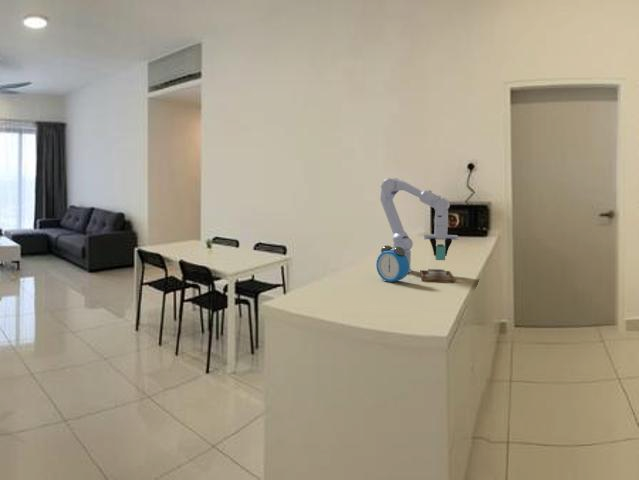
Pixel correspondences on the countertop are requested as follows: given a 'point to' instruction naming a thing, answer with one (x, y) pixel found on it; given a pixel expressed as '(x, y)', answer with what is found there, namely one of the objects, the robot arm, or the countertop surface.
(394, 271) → the alarm clock
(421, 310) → the countertop surface
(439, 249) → the connector
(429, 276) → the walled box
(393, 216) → the robot arm
